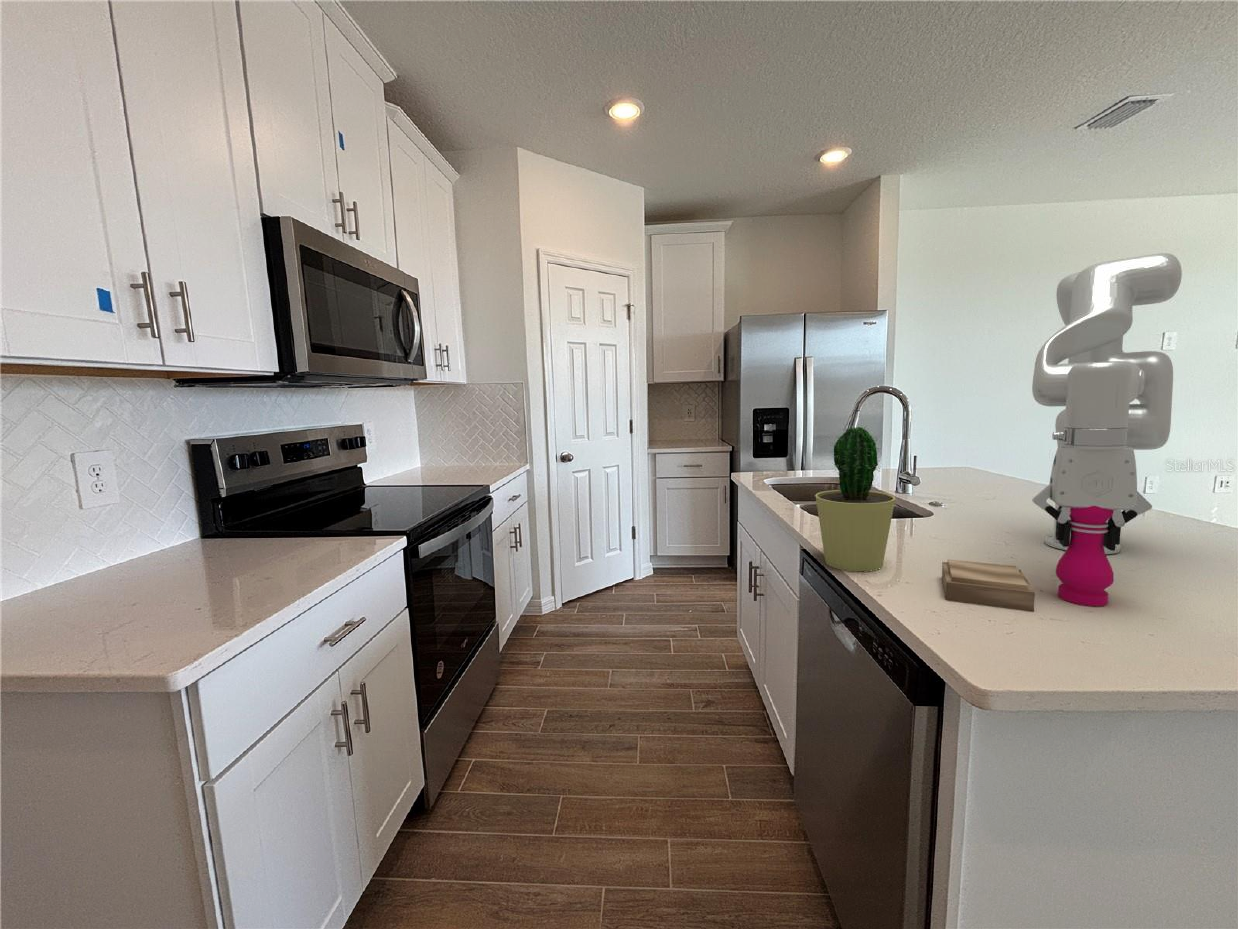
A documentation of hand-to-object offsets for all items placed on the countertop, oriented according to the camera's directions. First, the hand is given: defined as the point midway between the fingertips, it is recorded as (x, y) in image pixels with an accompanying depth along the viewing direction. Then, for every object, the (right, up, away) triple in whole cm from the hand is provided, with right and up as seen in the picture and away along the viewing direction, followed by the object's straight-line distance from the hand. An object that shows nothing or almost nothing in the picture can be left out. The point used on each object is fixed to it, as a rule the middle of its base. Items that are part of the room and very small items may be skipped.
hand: (1086, 545), depth 84 cm
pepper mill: (0, -10, +1) cm, 10 cm away
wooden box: (-13, -9, +5) cm, 17 cm away
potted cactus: (-28, -8, +24) cm, 38 cm away
